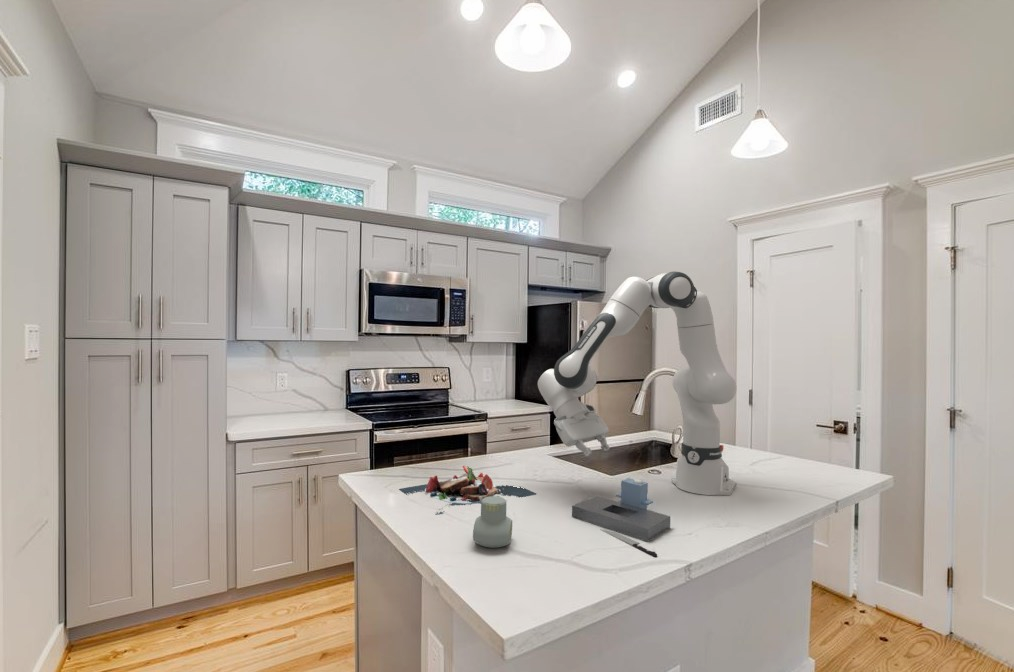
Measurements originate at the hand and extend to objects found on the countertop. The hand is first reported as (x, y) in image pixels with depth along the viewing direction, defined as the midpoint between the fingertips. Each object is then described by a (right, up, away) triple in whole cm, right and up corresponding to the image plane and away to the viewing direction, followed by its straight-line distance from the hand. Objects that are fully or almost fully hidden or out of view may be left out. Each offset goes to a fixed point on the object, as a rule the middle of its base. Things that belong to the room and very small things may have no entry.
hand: (598, 452), depth 147 cm
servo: (+8, -14, -8) cm, 18 cm away
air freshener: (-30, -14, -32) cm, 46 cm away
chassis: (+2, -14, -18) cm, 23 cm away
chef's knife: (+2, -15, -29) cm, 33 cm away
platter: (-39, -14, +5) cm, 42 cm away
